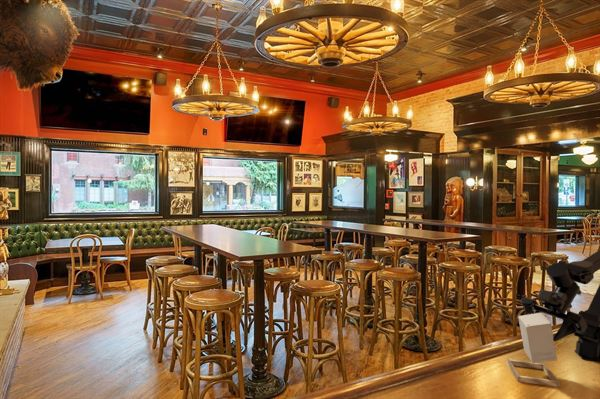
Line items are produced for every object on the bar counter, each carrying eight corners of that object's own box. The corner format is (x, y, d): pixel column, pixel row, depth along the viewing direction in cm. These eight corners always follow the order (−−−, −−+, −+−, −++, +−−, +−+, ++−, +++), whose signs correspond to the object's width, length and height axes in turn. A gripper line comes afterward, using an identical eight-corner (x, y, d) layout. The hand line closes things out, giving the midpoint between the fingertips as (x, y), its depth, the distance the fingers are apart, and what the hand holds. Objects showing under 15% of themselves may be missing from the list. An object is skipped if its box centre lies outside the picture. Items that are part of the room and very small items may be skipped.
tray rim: (544, 368, 134) (544, 363, 134) (559, 387, 123) (560, 382, 123) (506, 363, 136) (506, 358, 136) (517, 381, 125) (517, 376, 125)
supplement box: (558, 360, 126) (551, 323, 124) (532, 363, 128) (525, 327, 125) (548, 347, 133) (542, 311, 131) (523, 350, 135) (517, 315, 133)
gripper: (526, 272, 138) (501, 309, 134) (586, 289, 122) (560, 331, 118) (538, 293, 143) (515, 328, 138) (597, 311, 126) (573, 352, 122)
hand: (538, 334), depth 129 cm, fingers closed on supplement box, 9 cm apart
